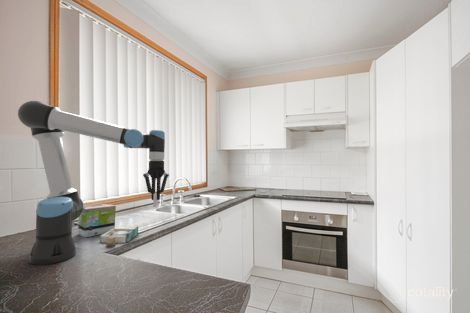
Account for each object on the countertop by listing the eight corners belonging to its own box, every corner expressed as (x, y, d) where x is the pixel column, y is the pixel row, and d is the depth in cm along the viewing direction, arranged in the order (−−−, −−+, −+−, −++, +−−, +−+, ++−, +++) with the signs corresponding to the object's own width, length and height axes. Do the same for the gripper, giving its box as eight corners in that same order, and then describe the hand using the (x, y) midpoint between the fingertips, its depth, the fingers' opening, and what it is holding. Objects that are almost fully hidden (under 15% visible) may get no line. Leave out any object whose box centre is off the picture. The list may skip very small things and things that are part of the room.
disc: (124, 238, 119) (124, 235, 119) (109, 238, 118) (110, 235, 118) (129, 234, 126) (129, 231, 126) (116, 234, 125) (116, 231, 125)
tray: (127, 241, 116) (128, 233, 116) (102, 241, 116) (102, 233, 116) (138, 234, 128) (138, 226, 129) (115, 233, 128) (115, 226, 128)
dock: (125, 242, 115) (125, 236, 115) (99, 242, 115) (99, 236, 115) (136, 234, 129) (136, 228, 129) (113, 233, 129) (113, 228, 129)
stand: (112, 247, 109) (112, 239, 109) (104, 246, 109) (105, 239, 109) (116, 244, 113) (116, 236, 113) (108, 244, 113) (109, 236, 113)
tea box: (85, 238, 121) (86, 209, 121) (77, 234, 127) (78, 206, 127) (115, 231, 133) (116, 205, 133) (106, 228, 139) (107, 202, 139)
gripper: (171, 160, 127) (170, 205, 127) (146, 160, 127) (145, 204, 126) (167, 160, 120) (166, 208, 119) (141, 160, 119) (139, 207, 119)
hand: (155, 206), depth 123 cm, fingers closed
